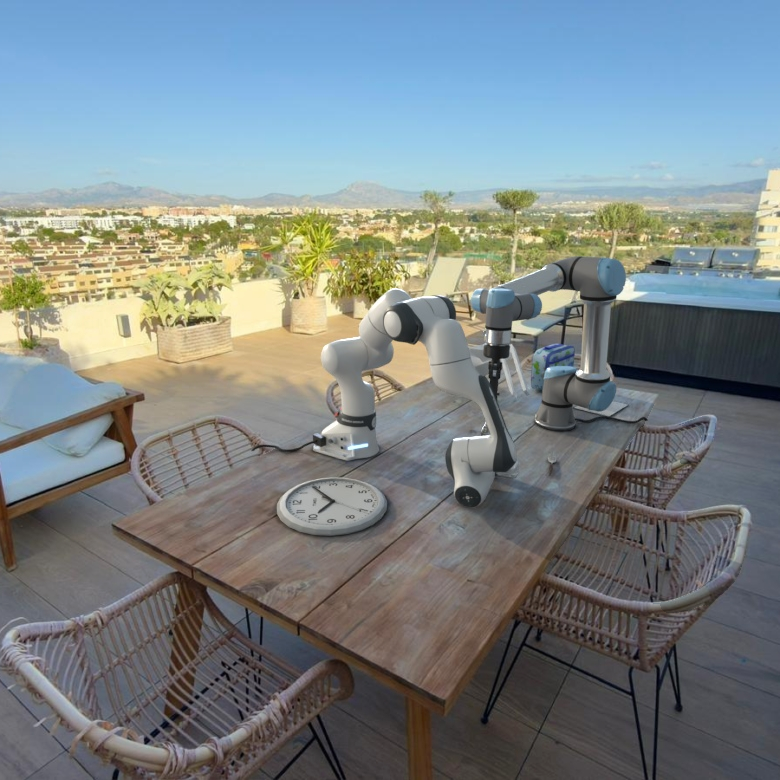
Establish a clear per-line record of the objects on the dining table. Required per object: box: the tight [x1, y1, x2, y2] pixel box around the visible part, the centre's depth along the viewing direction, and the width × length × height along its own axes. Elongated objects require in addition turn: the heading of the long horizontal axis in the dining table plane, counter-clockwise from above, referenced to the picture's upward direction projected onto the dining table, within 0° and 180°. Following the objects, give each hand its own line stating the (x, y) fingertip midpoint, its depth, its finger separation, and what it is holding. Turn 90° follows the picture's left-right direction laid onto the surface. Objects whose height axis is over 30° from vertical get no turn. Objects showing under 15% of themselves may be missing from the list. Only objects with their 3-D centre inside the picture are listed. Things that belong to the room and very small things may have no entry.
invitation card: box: [573, 400, 629, 417], centre depth 226 cm, size 21×1×15 cm
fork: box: [547, 451, 558, 477], centre depth 168 cm, size 3×16×2 cm, turn 160°
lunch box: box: [530, 343, 576, 391], centre depth 249 cm, size 26×11×21 cm, turn 134°
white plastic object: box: [468, 343, 531, 400], centre depth 245 cm, size 37×45×31 cm
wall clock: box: [276, 476, 388, 537], centre depth 142 cm, size 30×2×30 cm
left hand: (488, 453), depth 163 cm, fingers closed on bottle, 5 cm apart
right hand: (491, 418), depth 158 cm, fingers closed on cap, 4 cm apart
